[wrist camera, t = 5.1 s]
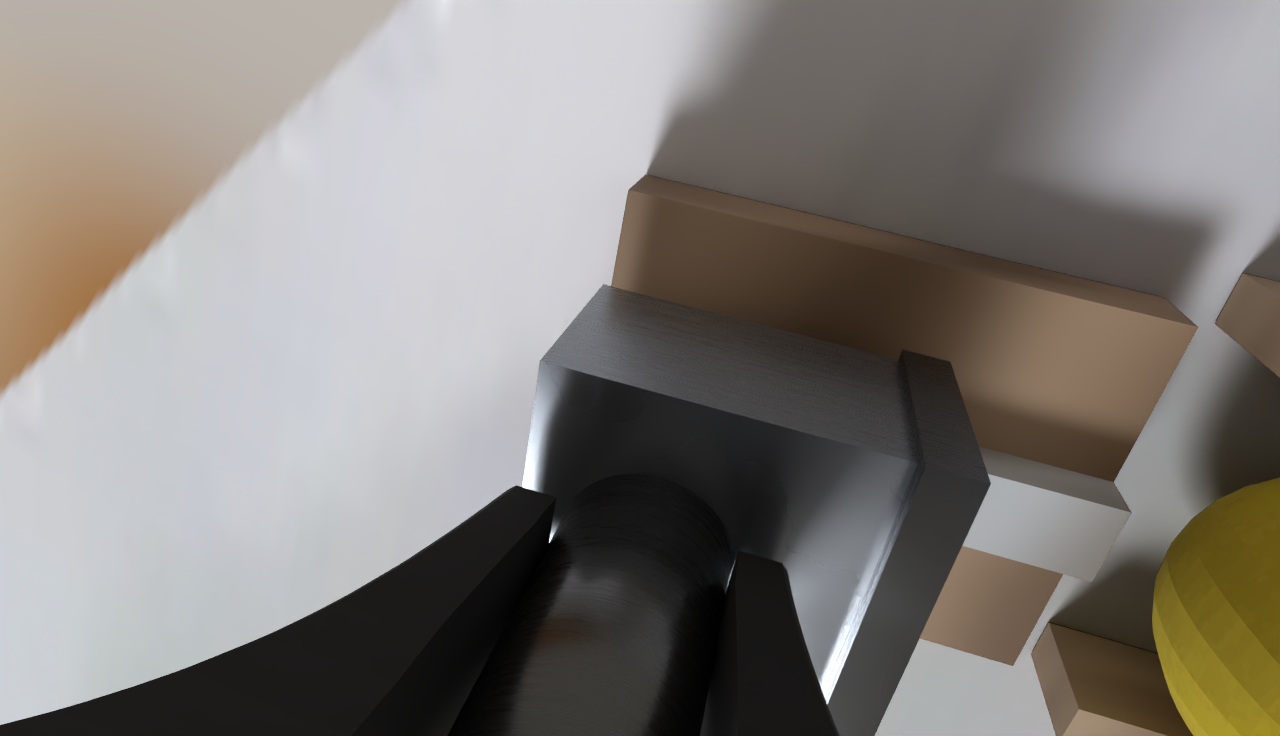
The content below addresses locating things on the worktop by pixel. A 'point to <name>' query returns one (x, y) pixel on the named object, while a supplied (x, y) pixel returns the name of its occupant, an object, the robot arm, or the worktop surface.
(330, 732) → the robot arm
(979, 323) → the press bed
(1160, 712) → the lemon cradle
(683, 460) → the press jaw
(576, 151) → the worktop surface
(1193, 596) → the lemon
